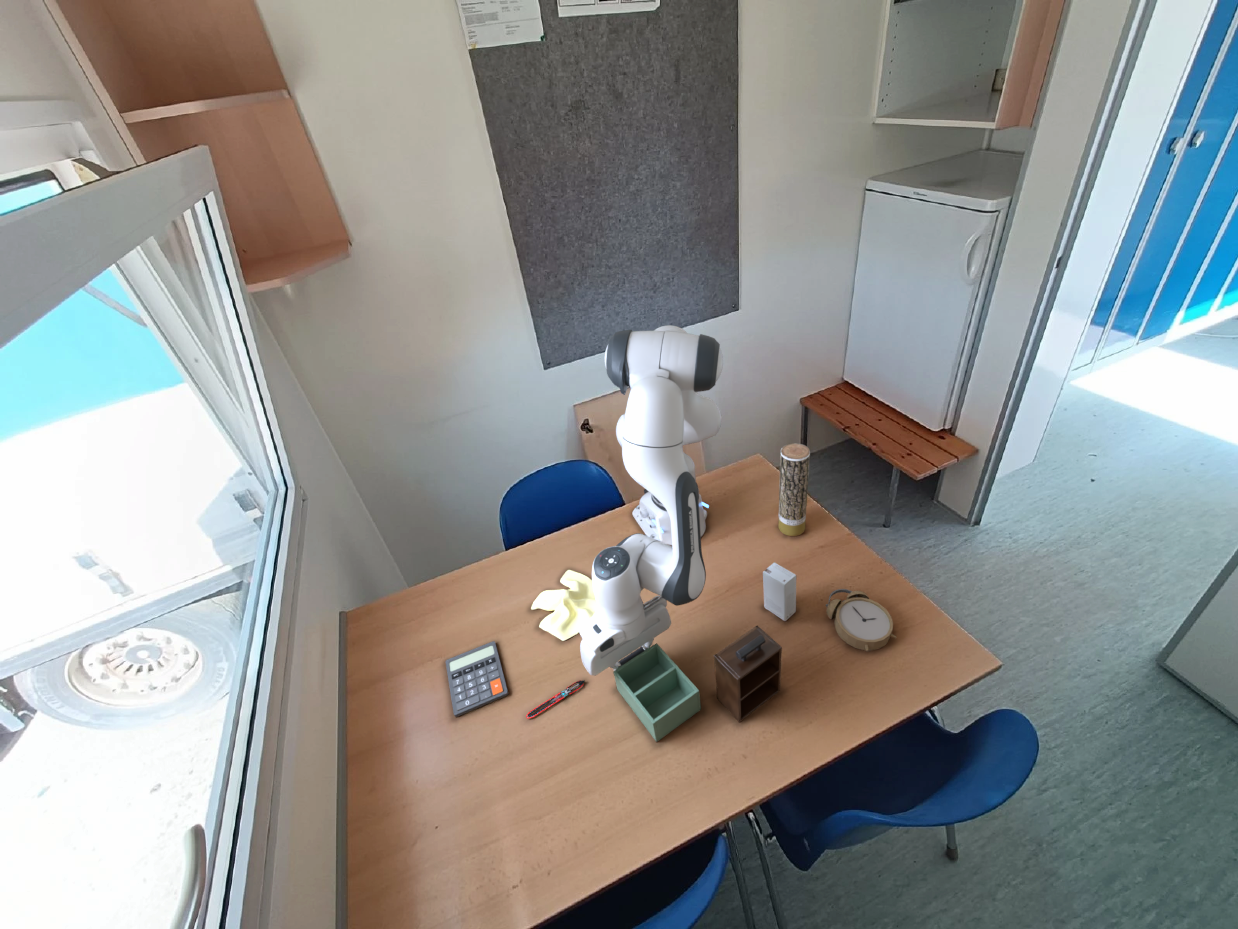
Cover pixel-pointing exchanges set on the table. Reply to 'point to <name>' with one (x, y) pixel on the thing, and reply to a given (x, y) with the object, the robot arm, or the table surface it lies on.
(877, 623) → the alarm clock
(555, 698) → the pen
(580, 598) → the cloth
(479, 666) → the calculator
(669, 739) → the table surface
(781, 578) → the cosmetic box
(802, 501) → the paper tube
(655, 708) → the sage shelf
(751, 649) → the walnut shelf
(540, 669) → the table surface
